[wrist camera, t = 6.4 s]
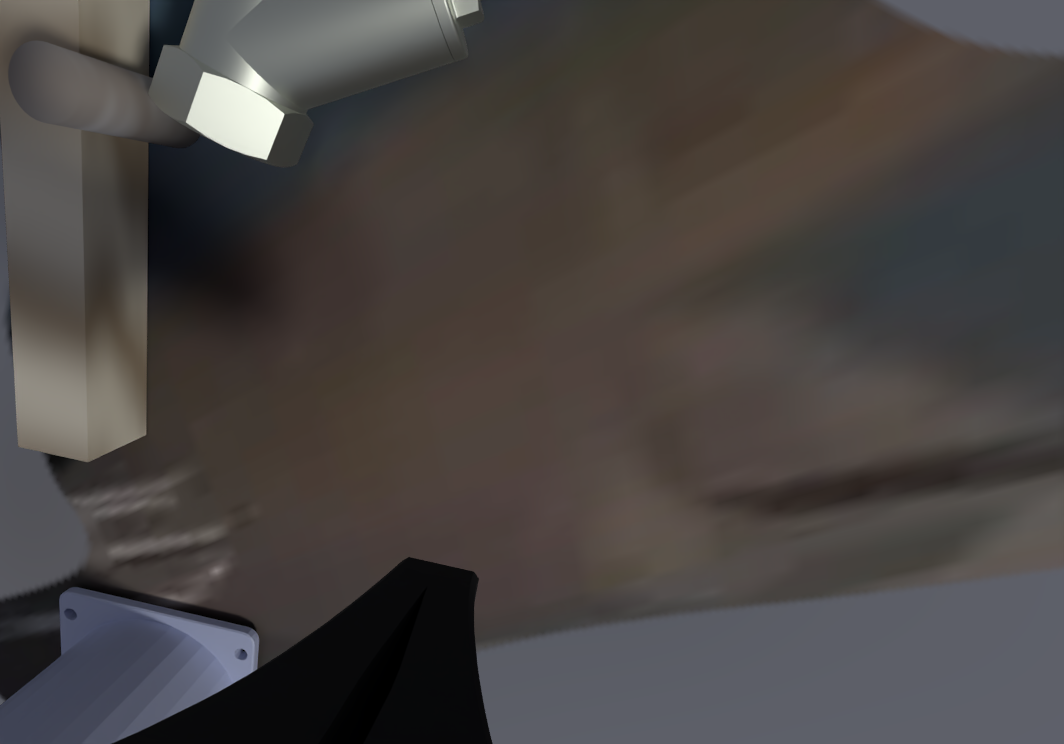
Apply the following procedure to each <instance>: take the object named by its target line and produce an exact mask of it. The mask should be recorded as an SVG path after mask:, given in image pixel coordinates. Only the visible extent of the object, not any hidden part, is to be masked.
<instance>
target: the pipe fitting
mask: <svg viewBox="0 0 1064 744" xmlns="http://www.w3.org/2000/svg"><path fill="white" fill-rule="evenodd" d="M480 1H481V0H195V1H194V4H193V7H192V10H191V13H190V16H189V19H188V21H187V24H186V27H185V30H184V33H183V36H182V39H181V42H180V45H164V46H163V49H162V52H161V55H160V58H159V61H158V64H157V67H156V70H155V74H154V77H153V80H152V83H151V86H150V89H149V92H148V94H149V96H150V97H151V99H152V100H153V101H154V103H155V104H156V105H157V106H158V107H159V108H160V109H161V110H162V111H163V112H164V113H165V114H167V115H168V116H170V117H171V118H173V119H174V120H176V121H177V122H179V123H181V124H182V125H184V126H186V127H187V128H189V129H191V130H193V131H195V132H197V133H198V134H200V135H202V136H204V137H206V138H208V139H210V140H212V141H214V142H216V143H218V144H220V145H222V146H225V147H227V148H229V149H231V150H233V151H236V152H238V153H240V154H243V155H245V156H247V157H250V158H252V159H255V160H258V161H261V162H263V163H266V164H270V165H273V166H277V167H290V166H294V165H297V163H298V161H299V159H300V156H301V154H302V151H303V149H304V146H305V144H306V142H307V139H308V137H309V134H310V132H311V129H312V127H313V125H314V124H313V122H312V121H311V119H310V118H309V117H308V115H307V114H306V113H307V110H308V109H311V108H314V107H317V106H320V105H323V104H326V103H329V102H332V101H336V100H339V99H342V98H345V97H348V96H351V95H354V94H357V93H360V92H363V91H366V90H369V89H372V88H375V87H379V86H382V85H385V84H388V83H391V82H394V81H397V80H400V79H403V78H406V77H409V76H413V75H416V74H419V73H422V72H425V71H428V70H431V69H434V68H437V67H440V66H443V65H447V64H450V63H453V62H456V61H459V60H462V59H465V58H467V56H468V50H467V45H466V40H465V36H464V32H463V28H466V27H469V26H472V25H475V24H478V23H481V22H483V19H484V14H483V10H482V6H481V2H480Z"/></svg>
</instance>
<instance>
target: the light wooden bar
mask: <svg viewBox="0 0 1064 744" xmlns="http://www.w3.org/2000/svg"><path fill="white" fill-rule="evenodd" d="M149 12H150V0H0V127H1V145H2V161H3V162H2V163H3V178H4V179H3V180H4V199H5V215H6V216H5V217H6V234H7V252H8V271H9V289H10V307H11V325H12V343H13V361H14V379H15V397H16V413H17V414H16V415H17V432H18V447H22V448H27V449H31V450H36V451H40V452H45V453H49V454H54V455H58V456H63V457H67V458H72V459H76V460H81V461H85V462H89V461H92V460H94V459H96V458H98V457H100V456H102V455H104V454H106V453H109V452H111V451H113V450H115V449H117V448H119V447H121V446H124V445H126V444H128V443H130V442H132V441H134V440H136V439H138V438H141V437H143V436H145V435H146V396H147V268H148V143H153V144H159V145H164V146H169V147H174V148H185V147H188V146H190V145H192V144H193V143H195V142H196V141H197V139H198V138H199V136H200V134H198V133H197V132H195V131H193V130H191V129H189V128H187V127H186V126H184V125H182V124H181V123H179V122H177V121H176V120H174V119H173V118H171V117H170V116H168V115H167V114H165V113H164V112H163V111H162V110H161V109H160V108H159V107H158V106H157V105H156V104H155V103H154V101H153V100H152V99H151V97H150V96H149V94H148V92H149V89H150V86H151V83H152V80H153V78H151V77H149Z"/></svg>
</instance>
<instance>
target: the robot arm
mask: <svg viewBox="0 0 1064 744" xmlns="http://www.w3.org/2000/svg"><path fill="white" fill-rule="evenodd" d="M478 580H479V578H478V577H477V575H476V574H475V573H474V572H473V571H468V570H464V569H459V568H455V567H451V566H446V565H442V564H437V563H433V562H428V561H424V560H419V559H415V558H410V557H408V558H407V559H405V560H403V561H402V562H401V563H399V564H398V565H397V566H396V567H395V568H394V569H393V570H391V571H390V572H389V573H388V574H387V575H386V576H384V577H383V578H382V579H381V580H380V581H379V582H377V583H376V584H375V585H374V586H373V587H371V588H370V589H369V590H368V591H367V592H365V593H364V594H363V595H362V596H360V597H359V598H358V599H357V600H355V601H354V602H353V603H351V604H350V605H349V606H348V607H346V608H345V609H344V610H342V611H341V612H340V613H339V614H337V615H336V616H335V617H333V618H332V619H331V620H329V621H328V622H327V623H325V624H324V625H323V626H321V627H320V628H318V629H317V630H316V631H314V632H313V633H311V634H310V635H308V636H307V637H305V638H304V639H303V640H301V641H300V642H298V643H297V644H295V645H294V646H292V647H291V648H289V649H288V650H287V651H285V652H284V653H282V654H281V655H279V656H278V657H276V658H274V659H273V660H271V661H270V662H268V663H266V664H265V665H263V666H262V667H260V668H258V669H257V663H258V649H259V636H258V634H257V633H256V631H255V630H253V629H252V628H250V627H246V626H242V625H238V624H234V623H229V622H225V621H221V620H216V619H212V618H208V617H204V616H199V615H195V614H191V613H186V612H182V611H178V610H173V609H169V608H165V607H161V606H156V605H152V604H148V603H143V602H139V601H135V600H131V599H126V598H122V597H118V596H113V595H109V594H105V593H100V592H96V591H92V590H88V589H83V588H79V587H72V588H69V589H68V590H66V591H65V592H63V593H62V594H61V595H60V599H59V606H60V632H61V656H60V657H59V658H58V659H57V660H55V661H54V662H53V663H52V664H51V665H49V666H48V667H47V668H46V669H44V670H43V671H42V672H41V673H39V674H38V675H37V676H36V677H35V678H33V679H32V680H31V681H30V682H28V683H27V684H26V685H25V686H23V687H22V688H21V689H20V690H19V691H17V692H16V693H15V694H14V695H12V696H11V697H10V698H9V699H7V700H6V701H5V702H4V703H3V704H2V705H0V744H492V740H491V736H490V732H489V728H488V723H487V719H486V714H485V709H484V703H483V698H482V692H481V686H480V680H479V674H478V666H477V656H476V646H475V635H474V602H475V597H476V591H477V586H478ZM242 649H243V650H245V651H246V652H247V653H246V652H244V651H243V650H242Z"/></svg>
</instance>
